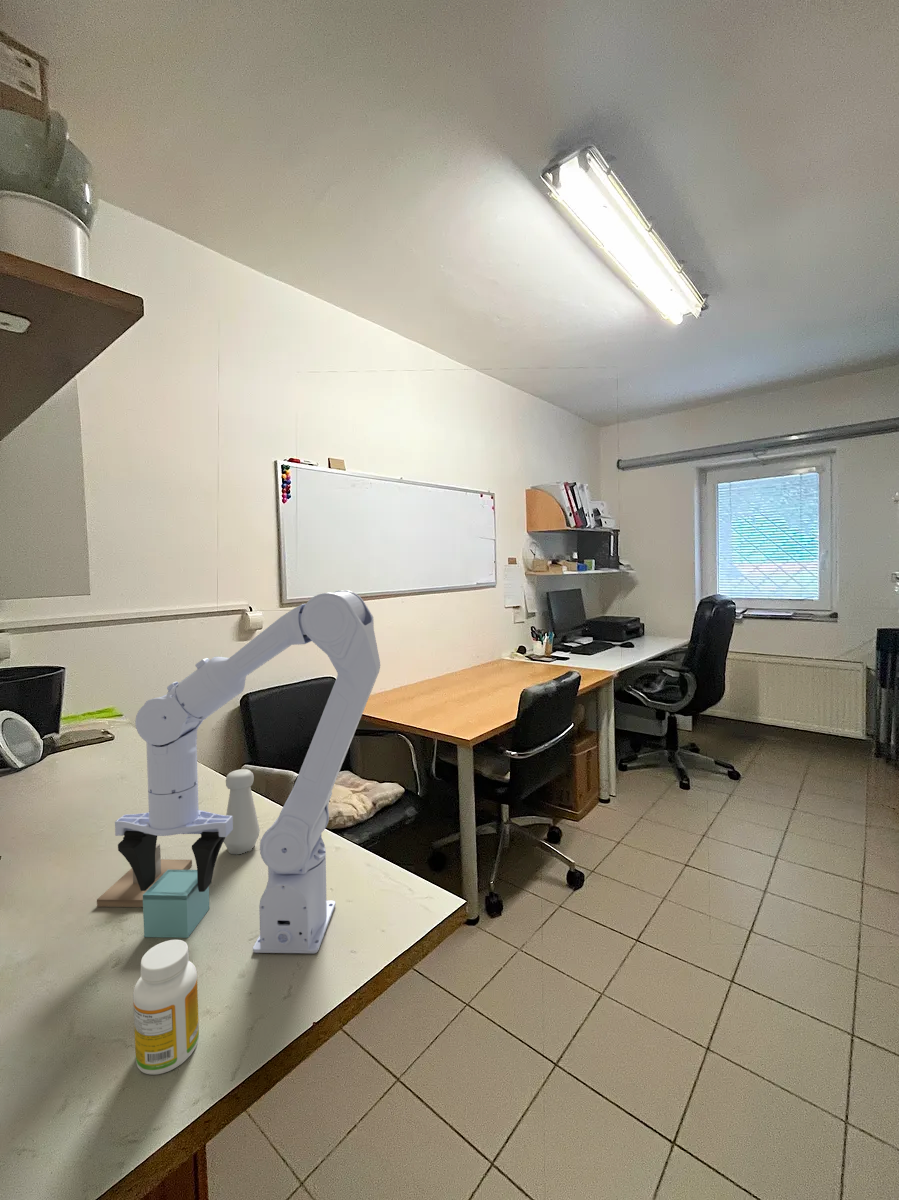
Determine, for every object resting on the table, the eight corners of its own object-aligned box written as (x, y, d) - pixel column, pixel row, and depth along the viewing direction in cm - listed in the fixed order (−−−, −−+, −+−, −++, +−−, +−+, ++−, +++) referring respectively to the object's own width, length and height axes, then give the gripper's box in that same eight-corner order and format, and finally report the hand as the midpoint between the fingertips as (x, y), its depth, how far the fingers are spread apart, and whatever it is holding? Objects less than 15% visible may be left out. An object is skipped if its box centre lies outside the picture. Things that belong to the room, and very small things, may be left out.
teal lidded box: (187, 937, 65) (186, 895, 65) (144, 937, 65) (142, 895, 65) (209, 908, 71) (208, 869, 71) (169, 908, 71) (167, 869, 71)
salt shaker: (246, 859, 83) (244, 780, 82) (214, 855, 84) (212, 777, 83) (266, 841, 89) (264, 766, 88) (236, 837, 90) (234, 764, 89)
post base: (154, 907, 71) (152, 868, 71) (97, 906, 71) (95, 867, 71) (191, 865, 81) (190, 831, 81) (141, 865, 81) (140, 831, 81)
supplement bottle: (182, 1016, 54) (179, 926, 53) (209, 1044, 51) (207, 949, 50) (125, 1055, 49) (121, 958, 49) (151, 1089, 46) (147, 985, 46)
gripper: (241, 773, 71) (243, 869, 72) (137, 772, 71) (140, 868, 72) (217, 796, 64) (220, 902, 65) (102, 794, 64) (106, 900, 65)
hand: (176, 886), depth 68 cm, fingers open, 7 cm apart
